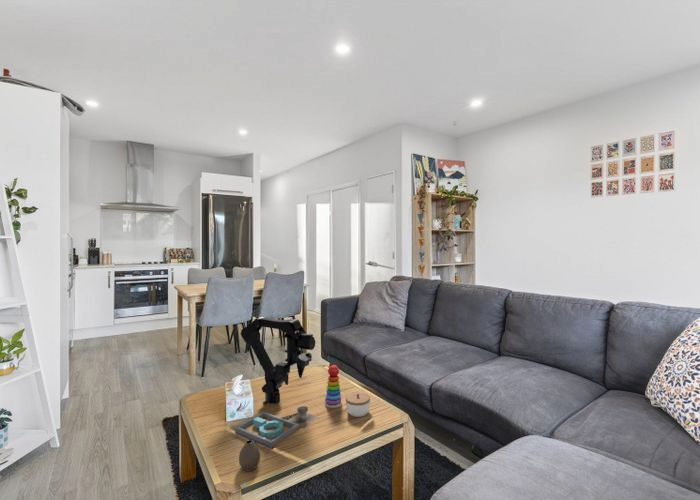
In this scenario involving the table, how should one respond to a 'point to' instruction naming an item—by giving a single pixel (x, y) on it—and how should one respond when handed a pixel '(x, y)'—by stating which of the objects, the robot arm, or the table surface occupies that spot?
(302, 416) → the ring
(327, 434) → the table surface
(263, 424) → the ring
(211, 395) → the table surface
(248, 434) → the tray
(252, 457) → the vase
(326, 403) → the stacking toy
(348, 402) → the lidded jar
